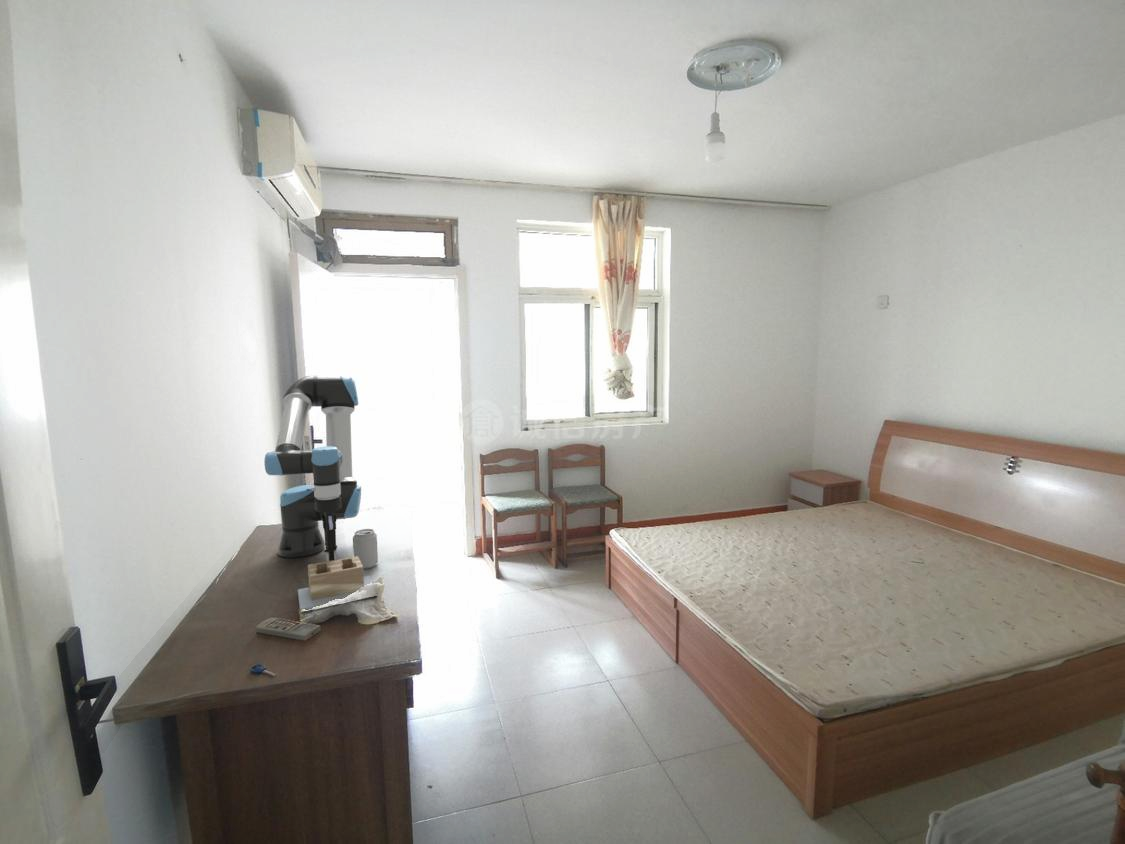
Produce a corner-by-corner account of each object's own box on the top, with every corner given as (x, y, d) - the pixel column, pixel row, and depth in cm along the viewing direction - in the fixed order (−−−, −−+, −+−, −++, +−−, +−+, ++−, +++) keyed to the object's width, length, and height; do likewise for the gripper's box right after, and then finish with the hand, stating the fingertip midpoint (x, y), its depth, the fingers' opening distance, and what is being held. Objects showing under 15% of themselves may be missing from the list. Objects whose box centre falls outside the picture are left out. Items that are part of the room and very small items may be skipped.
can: (370, 571, 170) (368, 535, 168) (349, 569, 171) (347, 534, 170) (382, 562, 177) (380, 528, 175) (362, 560, 178) (360, 527, 177)
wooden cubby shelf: (309, 587, 155) (307, 564, 154) (359, 577, 161) (357, 555, 161) (311, 600, 146) (310, 576, 145) (364, 589, 153) (363, 566, 152)
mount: (297, 593, 153) (297, 579, 153) (369, 579, 163) (368, 566, 163) (300, 613, 141) (299, 598, 141) (377, 596, 151) (376, 582, 150)
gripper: (312, 493, 164) (317, 565, 167) (315, 503, 153) (320, 580, 155) (338, 490, 168) (342, 561, 170) (343, 500, 156) (347, 575, 159)
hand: (332, 570), depth 163 cm, fingers closed
